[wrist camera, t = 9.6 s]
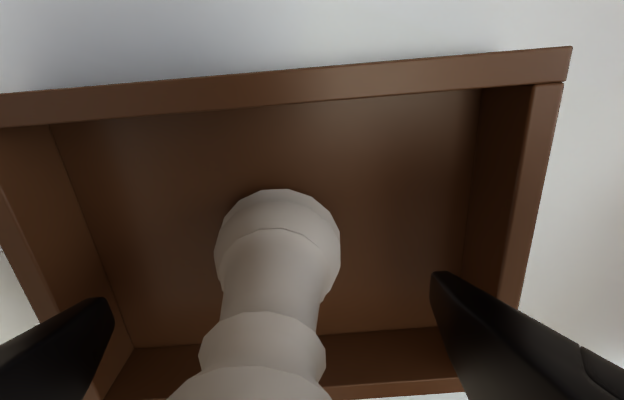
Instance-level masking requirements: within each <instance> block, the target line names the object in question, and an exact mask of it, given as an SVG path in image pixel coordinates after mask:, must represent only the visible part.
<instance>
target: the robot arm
mask: <svg viewBox="0 0 624 400" xmlns="http://www.w3.org/2000/svg"><path fill="white" fill-rule="evenodd" d="M429 300H430V305H431V308H432V311H433V314H434V316H435V319H436V322H437V325H438V328H439V331H440V334H441V337H442V340H443V342H444V345H445V348H446V351H447V354H448V356H449V359H450V361H451V363H452V365H453V368H454V370H455V372H456V374H457V376H458V378H459V380H460V382H461V384H462V386H463V389H464V391H465V393H466V395H467V397H468V399H469V400H624V369H623V368H621V367H619V366H617V365H615V364H613V363H612V362H610V361H608V360H606V359H604V358H602V357H601V356H599V355H597V354H595V353H593V352H592V351H590V350H588V349H586V348H585V347H580V346H579V344H577V343H575V342H574V341H572V340H570V339H568V338H567V337H565V336H563V335H561V334H559V333H558V332H556V331H554V330H552V329H551V328H549V327H547V326H545V325H543V324H542V323H540V322H538V321H536V320H535V319H533V318H531V317H529V316H527V315H526V314H524V313H522V312H520V311H518V310H517V309H515V308H513V307H511V306H510V305H508V304H506V303H504V302H502V301H501V300H499V299H497V298H495V297H494V296H492V295H490V294H488V293H486V292H485V291H483V290H481V289H479V288H478V287H476V286H474V285H472V284H470V283H469V282H467V281H465V280H463V279H462V278H460V277H458V276H456V275H454V274H453V273H451V272H449V271H434V272H433V273H432V274H431V279H430V292H429ZM114 328H115V318H114V316H113V313H112V311H111V308H110V305H109V303H108V301H107V299H106V298H105V297H90V298H87V299H85V300H83V301H81V302H79V303H77V304H75V305H74V306H72V307H70V308H68V309H66V310H64V311H63V312H61V313H59V314H57V315H55V316H53V317H52V318H50V319H48V320H46V321H44V322H42V323H41V324H39V325H37V326H35V327H33V328H31V329H30V330H28V331H26V332H24V333H22V334H20V335H18V336H17V337H15V338H13V339H11V340H9V341H7V342H6V343H4V344H2V345H0V400H83V398H84V396H85V394H86V392H87V390H88V388H89V386H90V384H91V382H92V380H93V378H94V376H95V373H96V371H97V369H98V366H99V364H100V362H101V359H102V357H103V354H104V352H105V350H106V347H107V345H108V343H109V340H110V338H111V336H112V333H113V331H114Z"/></svg>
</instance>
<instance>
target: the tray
mask: <svg viewBox="0 0 624 400" xmlns="http://www.w3.org/2000/svg"><path fill="white" fill-rule="evenodd" d="M572 49H573V47H572V46H562V47H550V48H537V49H525V50H512V51H500V52H488V53H476V54H464V55H452V56H441V57H429V58H417V59H405V60H393V61H381V62H369V63H357V64H346V65H334V66H322V67H310V68H298V69H286V70H274V71H262V72H251V73H239V74H227V75H215V76H203V77H191V78H179V79H167V80H156V81H144V82H132V83H120V84H108V85H96V86H84V87H72V88H61V89H49V90H37V91H25V92H14V93H2V94H0V245H1V247H2V249H3V251H4V253H5V255H6V257H7V259H8V261H9V263H10V265H11V267H12V269H13V271H14V273H15V275H16V277H17V279H18V281H19V283H20V285H21V287H22V289H23V290H24V292H25V294H26V296H27V298H28V300H29V302H30V304H31V306H32V308H33V310H34V312H35V314H36V316H37V318H38V320H39V322H40V324H41V323H42V322H44V321H46V320H48V319H50V318H52V317H53V316H55V315H57V314H59V313H61V312H63V311H64V310H66V309H68V308H70V307H72V306H74V305H75V304H77V303H79V302H81V301H83V300H85V299H87V298H90V297H105V298H106V299H107V301H108V303H109V305H110V308H111V311H112V313H113V316H114V318H115V328H114V331H113V333H112V336H111V338H110V340H109V343H108V345H107V347H106V350H105V352H104V354H103V357H102V359H101V362H100V364H99V366H98V369H97V371H96V373H95V376H94V378H93V380H92V382H91V384H90V386H89V388H88V390H87V392H86V394H85V396H84V398H83V400H166V399H167V398H169V397H170V396H171V395H172V394H173V393H174V392H175V391H176V390H177V389H178V388H179V387H180V386H181V385H182V384H183V383H184V382H185V381H186V380H188V379H190V378H191V377H193V376H195V375H196V374H198V373H200V372H201V371H202V370H201V366H200V361H199V357H198V354H199V351H200V347H201V344H202V341H203V337H204V336H205V335H206V334H207V333H208V332H209V331H210V330H211V329H212V328H213V327H214V326H215V325H216V324H217V323H218V322H219V320H220V314H221V307H222V301H223V294H224V292H223V291H222V288H221V282H220V281H219V279H218V277H217V271H216V266H215V261H214V248H215V245H216V241H217V238H218V234H219V231H220V229H221V226H222V223H223V219H224V217H225V216H226V215H227V214H228V212H229V211H230V210H231V209H232V208H233V207H234V206H235V205H236V203H237V202H238V201H239V200H241V199H243V198H245V197H247V196H250V195H252V194H254V193H256V192H258V191H261V190H271V189H290V190H293V191H296V192H299V193H302V194H305V195H308V196H311V197H313V198H314V199H315V200H316V201H317V202H319V203H320V204H321V205H322V206H323V207H324V208H326V209H327V210H328V211H329V212H330V213H331V215H332V217H333V219H334V221H335V223H336V225H337V227H338V229H339V231H340V262H341V266H340V269H339V272H338V275H337V277H336V279H335V281H334V283H333V285H332V288H331V290H330V291H329V292H328V293H327V294H326V295H325V297H324V300H323V301H322V302H321V303H320V306H319V313H318V320H317V327H316V335H317V336H318V338H319V340H320V341H321V343H322V345H323V346H324V348H325V354H326V369H325V371H324V373H323V375H322V377H321V379H320V380H319V382H318V384H319V385H320V386H321V387H322V388H323V389H324V390H325V391H326V392H327V393H328V394H329V396H330V397H331V399H332V400H355V399H369V398H383V397H398V396H412V395H426V394H440V393H454V392H465V391H464V389H463V386H462V384H461V382H460V380H459V378H458V376H457V374H456V372H455V370H454V368H453V365H452V363H451V361H450V359H449V356H448V354H447V351H446V348H445V345H444V342H443V340H442V337H441V334H440V331H439V328H438V325H437V322H436V319H435V316H434V314H433V311H432V308H431V305H430V300H429V292H430V279H431V274H432V273H433V272H434V271H449V272H451V273H453V274H454V275H456V276H458V277H460V278H462V279H463V280H465V281H467V282H469V283H470V284H472V285H474V286H476V287H478V288H479V289H481V290H483V291H485V292H486V293H488V294H490V295H492V296H494V297H495V298H497V299H499V300H501V301H502V302H504V303H506V304H508V305H510V306H511V307H513V308H515V309H517V310H518V306H519V301H520V296H521V291H522V287H523V282H524V277H525V272H526V267H527V262H528V258H529V253H530V248H531V243H532V238H533V233H534V229H535V224H536V219H537V214H538V209H539V204H540V199H541V195H542V190H543V185H544V180H545V175H546V170H547V166H548V161H549V156H550V151H551V146H552V141H553V137H554V132H555V127H556V122H557V117H558V112H559V108H560V103H561V98H562V93H563V88H564V83H562V82H564V81H566V78H567V73H568V69H569V64H570V59H571V54H572Z"/></svg>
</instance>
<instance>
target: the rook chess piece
mask: <svg viewBox="0 0 624 400" xmlns="http://www.w3.org/2000/svg"><path fill="white" fill-rule="evenodd" d="M214 261H215V266H216V271H217V277H218V279H219V281H220V282H221V288H222V291H223V292H224V294H223V301H222V307H221V314H220V320H219V322H218V323H217V324H216V325H215V326H214V327H213V328H212V329H211V330H210V331H209V332H208V333H207V334H206V335H205V336H204V337H203V341H202V344H201V347H200V351H199V354H198V357H199V361H200V366H201V370H202V371H201V372H200V373H198V374H196V375H195V376H193V377H191V378H190V379H188V380H186V381H185V382H184V383H183V384H182V385H181V386H180V387H179V388H178V389H177V390H176V391H175V392H174V393H173V394H172V395H171V396H170V397H169V398H167V399H166V400H332V399H331V397H330V396H329V394H328V393H327V392H326V391H325V390H324V389H323V388H322V387H321V386H320V385H319V384H318V382H319V380H320V379H321V377H322V375H323V373H324V371H325V369H326V354H325V348H324V346H323V345H322V343H321V341H320V340H319V338H318V336H317V335H316V327H317V320H318V313H319V306H320V303H321V302H322V301H323V300H324V297H325V295H326V294H327V293H328V292H329V291H330V290H331V288H332V285H333V283H334V281H335V279H336V277H337V275H338V272H339V269H340V266H341V262H340V231H339V229H338V227H337V225H336V223H335V221H334V219H333V217H332V215H331V213H330V212H329V211H328V210H327V209H326V208H324V207H323V206H322V205H321V204H320V203H319V202H317V201H316V200H315V199H314V198H313V197H311V196H308V195H305V194H302V193H299V192H296V191H293V190H290V189H271V190H261V191H258V192H256V193H254V194H252V195H250V196H247V197H245V198H243V199H241V200H239V201H238V202H237V203H236V205H235V206H234V207H233V208H232V209H231V210H230V211H229V212H228V214H227V215H226V216H225V217H224V219H223V223H222V226H221V229H220V231H219V234H218V238H217V241H216V245H215V248H214Z"/></svg>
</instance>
